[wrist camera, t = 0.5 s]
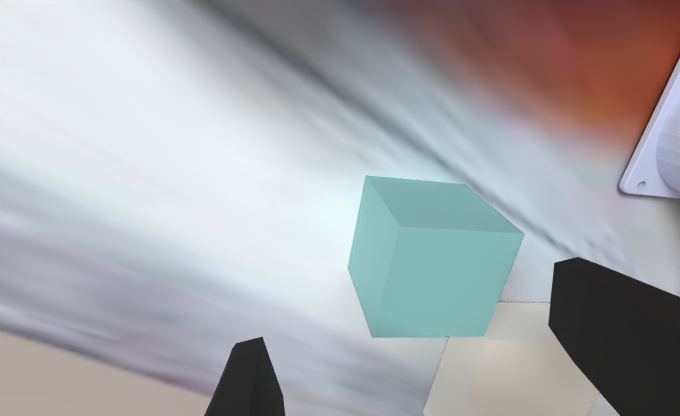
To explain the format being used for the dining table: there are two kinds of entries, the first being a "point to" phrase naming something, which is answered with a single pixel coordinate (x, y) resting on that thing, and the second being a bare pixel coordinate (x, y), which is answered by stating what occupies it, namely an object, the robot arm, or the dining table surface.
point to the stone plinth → (510, 370)
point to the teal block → (429, 258)
